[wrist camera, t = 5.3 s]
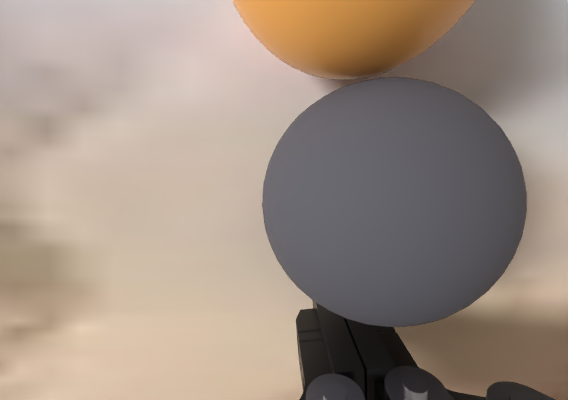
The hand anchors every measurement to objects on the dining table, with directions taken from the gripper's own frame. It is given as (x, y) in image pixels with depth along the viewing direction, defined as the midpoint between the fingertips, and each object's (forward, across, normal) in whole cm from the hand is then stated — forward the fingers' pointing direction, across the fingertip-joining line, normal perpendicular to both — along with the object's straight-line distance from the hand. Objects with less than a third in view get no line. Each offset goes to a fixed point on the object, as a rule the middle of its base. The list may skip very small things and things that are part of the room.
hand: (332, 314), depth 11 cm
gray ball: (-2, -1, -5) cm, 5 cm away
